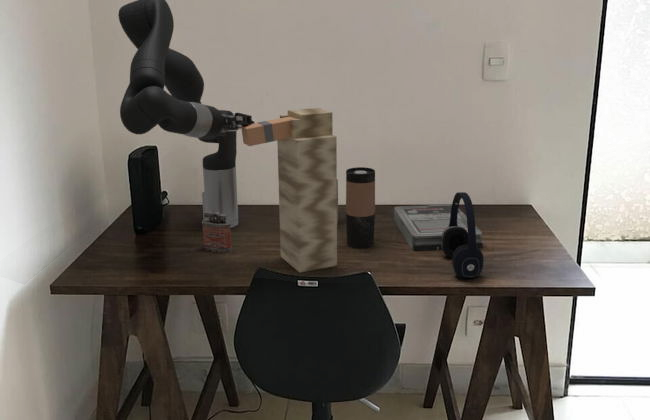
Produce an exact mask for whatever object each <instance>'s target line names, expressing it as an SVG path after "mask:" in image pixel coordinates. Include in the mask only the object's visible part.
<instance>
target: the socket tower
mask: <svg viewBox="0 0 650 420" xmlns="http://www.w3.org/2000/svg"><path fill="white" fill-rule="evenodd" d="M290 116H293V117H295V118H298V119H291V137H290V138H287V139H282V140H277V141H276V143H277V144H276V145H277V171H278V172H277V174H278V176H277V178H278V206H279V208H278V209H279V237H280V238H279V239H280V240H279V242H280V243H279V244H280V257H281V258H282V259H283V260H284V261H286V263H288V264H289V265H290V266H291V267H293V268H294V269H295V270H296V271H297V272H298V273H304V272H305V273H306V272H311V271H315V270H316V271H317V270H321V269H326V268H330V267H337V266H338V224H337V180H338V178H337V177H338V175H337V170H338V169H337V168H338V167H337V161H338V160H337V155H338V154H337V136H336V135H334V134H333V112H332V111H328V110H326V109H322V108H320V107H315V108H304V109H303V108H301V109H293V110H292V109H291V110H287V114H281V115H279V119H280V118H285V117H290Z"/></svg>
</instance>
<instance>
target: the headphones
mask: <svg viewBox="0 0 650 420" xmlns="http://www.w3.org/2000/svg"><path fill="white" fill-rule="evenodd" d="M461 200H462V202H463V203H464V204H463V205H464V210H465V215H466V216H467V227H468V232H467V231H466V230H465V229H464V228H463V227H460V226H458V225H457V215H458V208H459V209H460V203H461ZM451 204H452V207H451V215H450V223H449V227H447V228H446V229H445V230H444V231H443V233H442V237H441V247H442V250H441V251H442V252H443V254H444V255H445V256H446V257H448V258H451V260H452V263H451V265H452V268H453V272H454V274H455V275H456V276H457V277H458V278H460V279H465V280H466V279H467V280H469V279H474V278H476V277H479V275H481V273H482V270H483V267H484V254H483V252H482V251H481V248H478V247H477V246H476V228H475V226H476V219H475V211H474V207H473V202H472V198H471V197H470V195H469V194H468V193H467V192H464V191H463V192H461V191H460V192H459V191H458V192H456V193H455V194H454V196H453V199H452V202H451Z"/></svg>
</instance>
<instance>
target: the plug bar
mask: <svg viewBox="0 0 650 420" xmlns="http://www.w3.org/2000/svg"><path fill="white" fill-rule="evenodd" d="M291 119H298V118H295V117H293V116H290V117H285V118H280V117H279V118H274V119H270V120H263V121H258V122H254V124H251V125H249V126H241V125H240V126H241V129H240V130H241V134H242V136H241V137H242V141H243V144H244V145H246V146H248V147H254V146H257V145H263V144H267V143H271V142H272V143H273V142H277V140H282V139H287V138H290V137H291Z"/></svg>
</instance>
